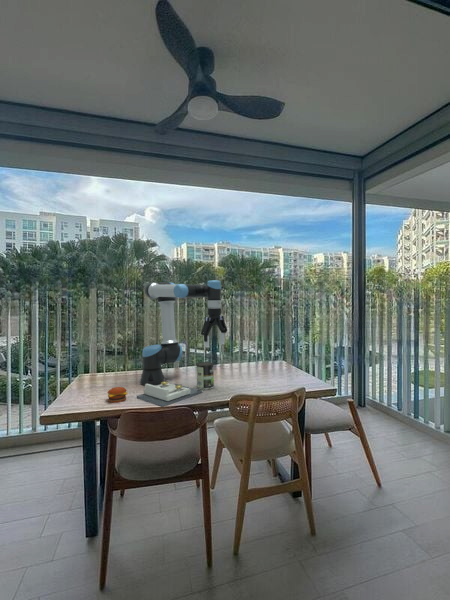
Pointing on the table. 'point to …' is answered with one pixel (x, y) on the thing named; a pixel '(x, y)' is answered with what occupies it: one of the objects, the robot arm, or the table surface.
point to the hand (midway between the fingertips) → (214, 345)
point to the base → (165, 403)
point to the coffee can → (205, 375)
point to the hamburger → (117, 394)
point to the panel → (165, 391)
